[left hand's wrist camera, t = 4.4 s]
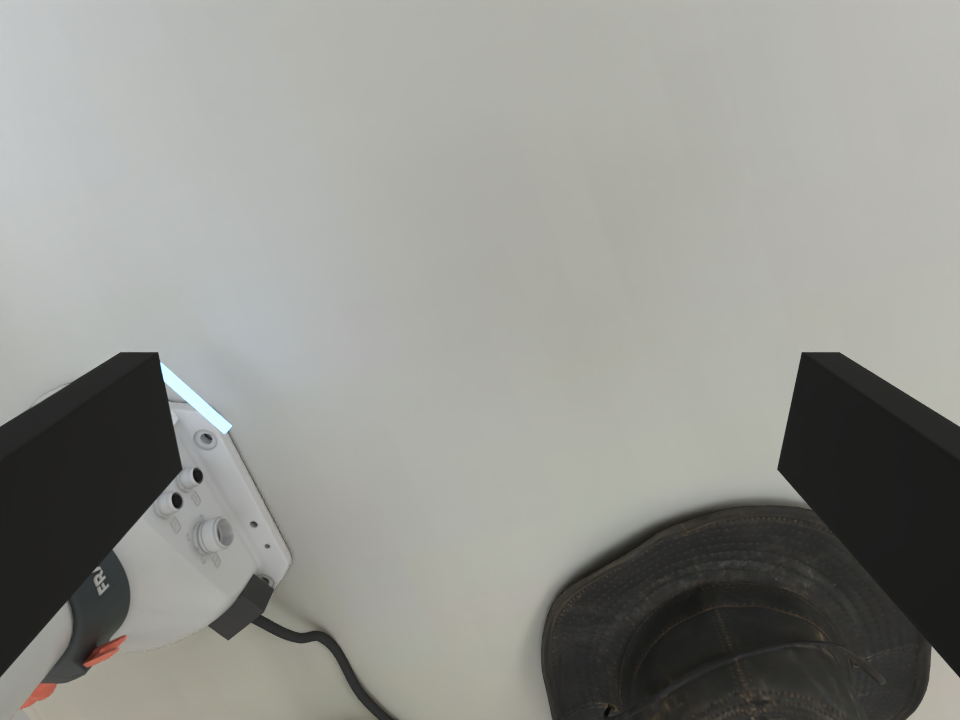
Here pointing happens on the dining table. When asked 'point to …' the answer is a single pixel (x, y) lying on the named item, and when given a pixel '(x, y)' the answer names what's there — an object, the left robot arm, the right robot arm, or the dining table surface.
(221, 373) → the dining table surface
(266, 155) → the dining table surface
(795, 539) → the hat
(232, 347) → the dining table surface
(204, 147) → the dining table surface
